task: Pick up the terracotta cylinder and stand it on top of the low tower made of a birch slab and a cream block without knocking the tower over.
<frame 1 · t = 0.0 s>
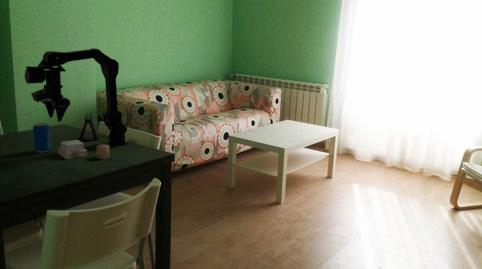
hand: (55, 119, 187), 15 cm above the table, fingers open, 9 cm apart
phone stand: (89, 139, 215), on the table
tower base: (72, 156, 189), on the table, touching tower top
tower top: (72, 149, 188), point 2 cm above the table, touching tower base
beverage can: (42, 151, 192), on the table
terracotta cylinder: (103, 157, 188), on the table
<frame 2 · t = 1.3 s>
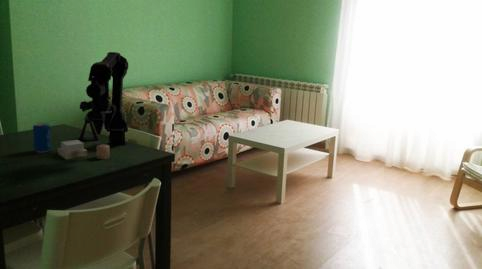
hand: (102, 131, 185), 11 cm above the table, fingers open, 9 cm apart
nothing on the table moved.
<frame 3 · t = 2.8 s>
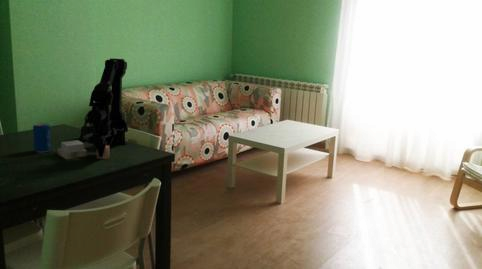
hand: (103, 155, 188), 1 cm above the table, fingers closed on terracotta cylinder, 5 cm apart
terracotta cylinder: (103, 157, 188), on the table, touching gripper
everything else where it was.
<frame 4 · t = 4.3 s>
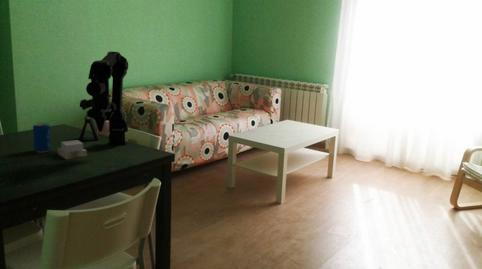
hand: (102, 130, 185), 12 cm above the table, fingers closed on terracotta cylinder, 5 cm apart
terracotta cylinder: (102, 132, 185), point 11 cm above the table, touching gripper
everything else where it was.
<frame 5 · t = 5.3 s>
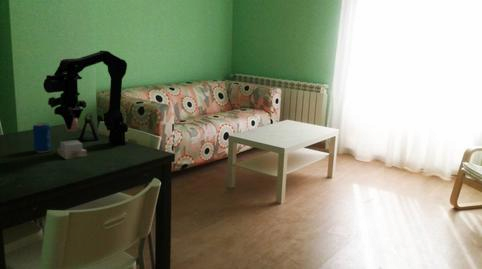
hand: (71, 127, 186), 12 cm above the table, fingers closed on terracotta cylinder, 5 cm apart
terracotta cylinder: (71, 130, 186), point 11 cm above the table, touching gripper
everything else where it was.
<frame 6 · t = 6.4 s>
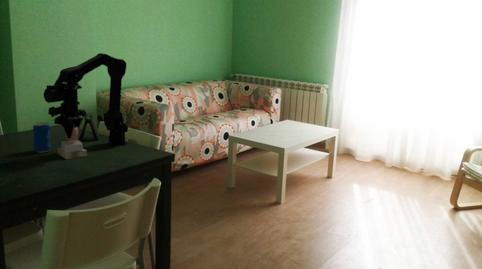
hand: (71, 136, 187), 8 cm above the table, fingers closed on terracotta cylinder, 5 cm apart
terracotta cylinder: (72, 139, 187), point 7 cm above the table, touching gripper
everything else where it was.
when the fingers open (8 cm above the table, at t = 6.5 s): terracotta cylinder drops 2 cm, resting on tower top.
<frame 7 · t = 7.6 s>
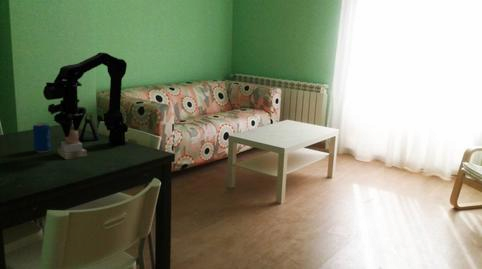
hand: (71, 134, 187), 9 cm above the table, fingers open, 9 cm apart
tower top: (71, 149, 188), point 2 cm above the table, touching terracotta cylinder, tower base
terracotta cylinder: (72, 142, 188), point 5 cm above the table, touching tower top
everything else where it was.
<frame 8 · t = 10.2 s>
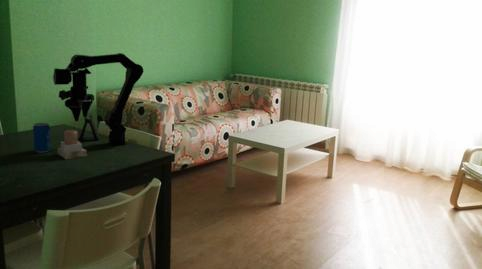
hand: (80, 119, 197), 13 cm above the table, fingers open, 9 cm apart
nothing on the table moved.
at the end: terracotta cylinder 0.8 cm off-centre on the tower base, point 6.0 cm above the tower base's base; tower top 0.4 cm off-centre on the tower base, point 3.0 cm above the tower base's base; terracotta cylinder tilted 1° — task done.
